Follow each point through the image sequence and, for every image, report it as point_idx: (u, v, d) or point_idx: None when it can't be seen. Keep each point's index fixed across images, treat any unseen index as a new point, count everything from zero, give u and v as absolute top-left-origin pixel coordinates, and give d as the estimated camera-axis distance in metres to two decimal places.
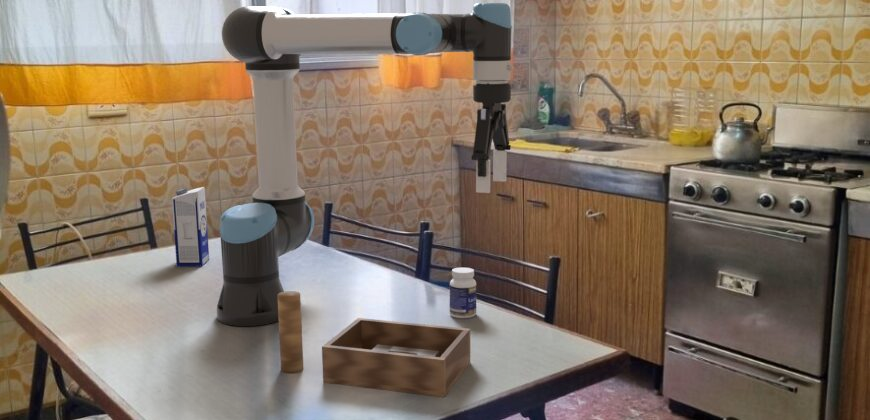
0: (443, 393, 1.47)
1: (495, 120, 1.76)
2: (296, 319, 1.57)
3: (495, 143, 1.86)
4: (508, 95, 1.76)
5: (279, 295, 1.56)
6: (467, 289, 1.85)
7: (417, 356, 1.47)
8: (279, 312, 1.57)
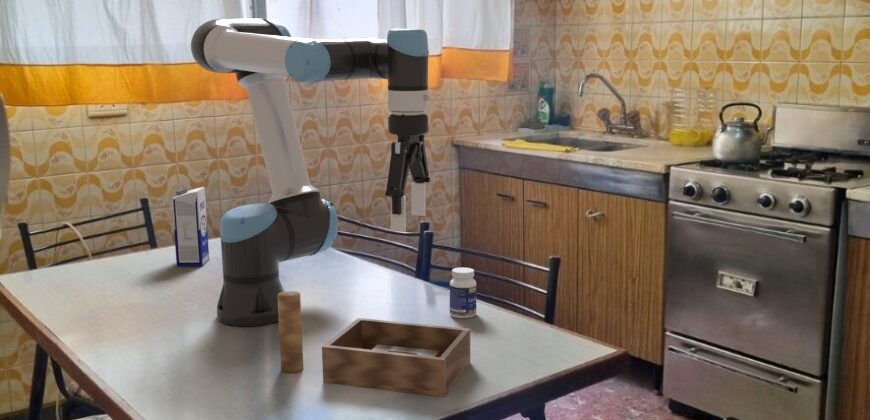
0: (443, 393, 1.47)
1: (411, 153, 1.65)
2: (296, 319, 1.57)
3: (413, 175, 1.75)
4: (425, 127, 1.65)
5: (279, 295, 1.56)
6: (467, 289, 1.85)
7: (417, 356, 1.47)
8: (279, 312, 1.57)
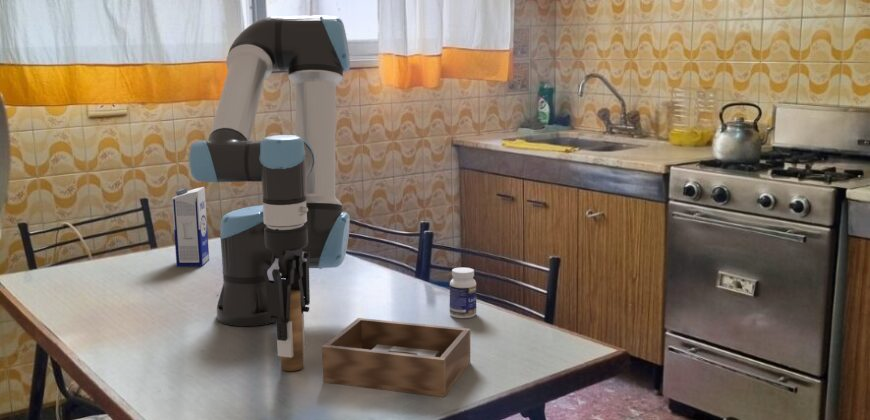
0: (443, 393, 1.47)
1: (289, 272, 1.54)
2: (296, 317, 1.57)
3: None
4: (302, 241, 1.53)
5: None
6: (467, 289, 1.85)
7: (417, 356, 1.47)
8: None
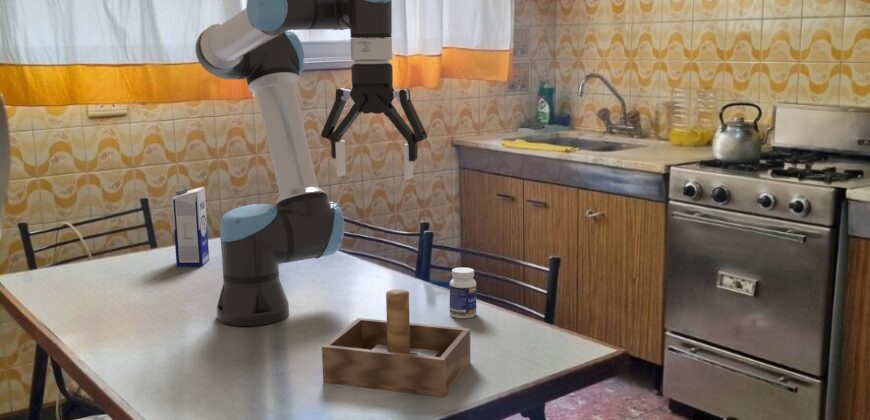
0: (443, 393, 1.47)
1: None
2: (389, 318, 1.54)
3: None
4: (359, 77, 1.59)
5: (394, 290, 1.56)
6: (467, 289, 1.85)
7: (417, 356, 1.47)
8: None
